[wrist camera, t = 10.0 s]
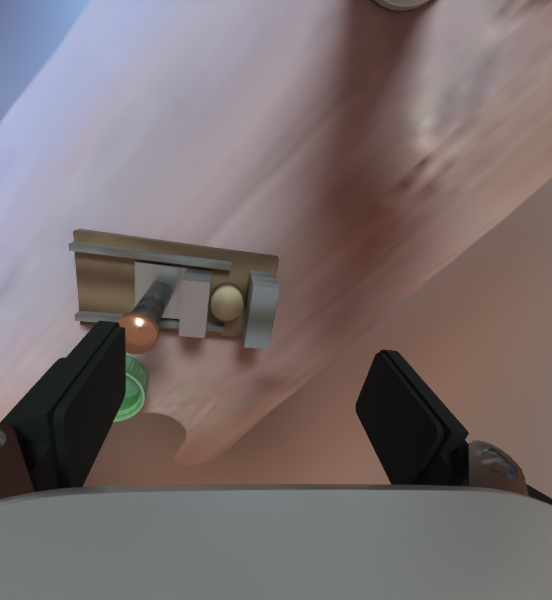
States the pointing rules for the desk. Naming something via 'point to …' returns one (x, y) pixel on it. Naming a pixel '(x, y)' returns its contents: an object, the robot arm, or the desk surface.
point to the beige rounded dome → (226, 301)
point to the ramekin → (133, 389)
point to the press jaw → (166, 303)
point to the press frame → (222, 262)
